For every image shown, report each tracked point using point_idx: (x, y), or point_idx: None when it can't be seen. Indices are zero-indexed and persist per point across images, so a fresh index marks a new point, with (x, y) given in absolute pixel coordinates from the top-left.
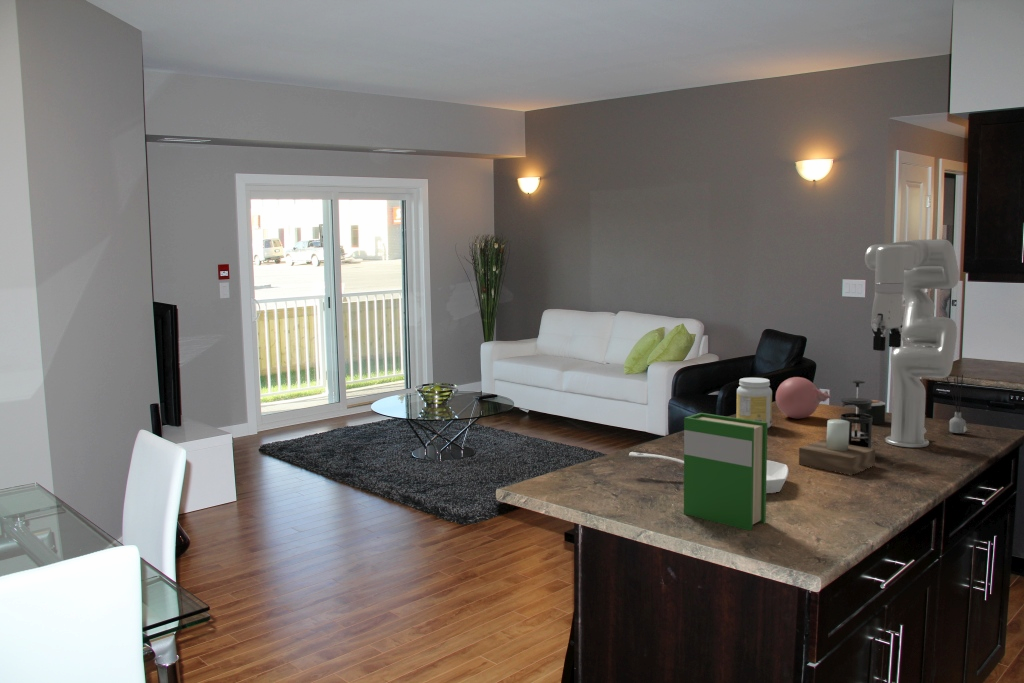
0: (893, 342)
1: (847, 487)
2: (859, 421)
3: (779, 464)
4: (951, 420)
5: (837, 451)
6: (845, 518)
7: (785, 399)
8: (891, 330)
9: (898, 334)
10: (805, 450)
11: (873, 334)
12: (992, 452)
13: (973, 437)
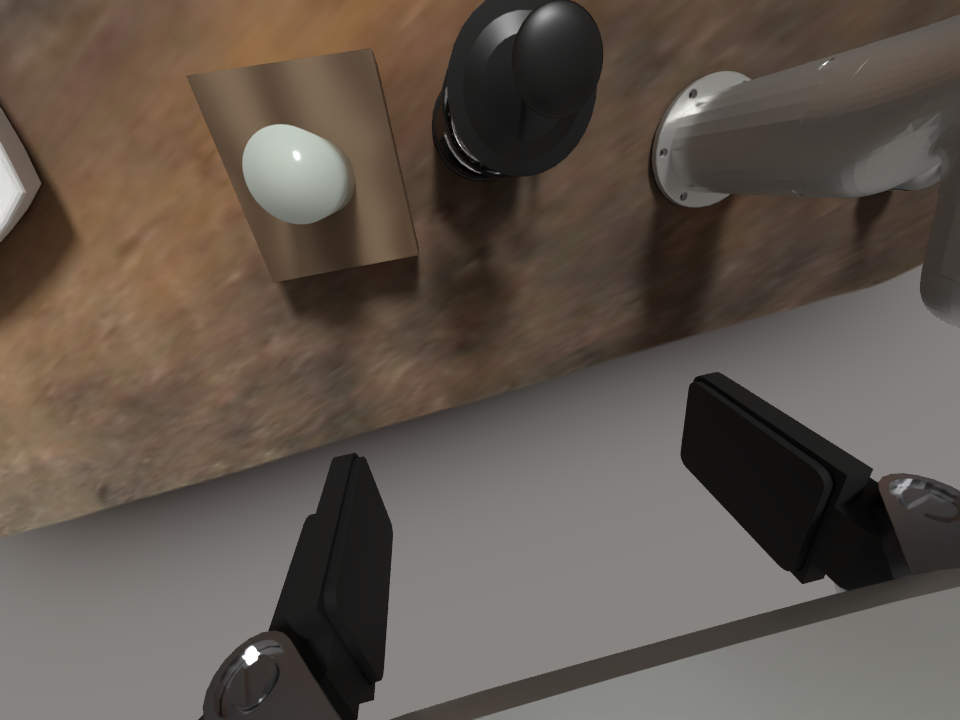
0: (715, 446)
1: (204, 330)
2: (462, 158)
3: (3, 164)
4: None
5: None
6: (51, 455)
7: None
8: (886, 542)
9: (790, 567)
10: (202, 108)
11: (216, 691)
12: (728, 323)
13: (858, 218)
